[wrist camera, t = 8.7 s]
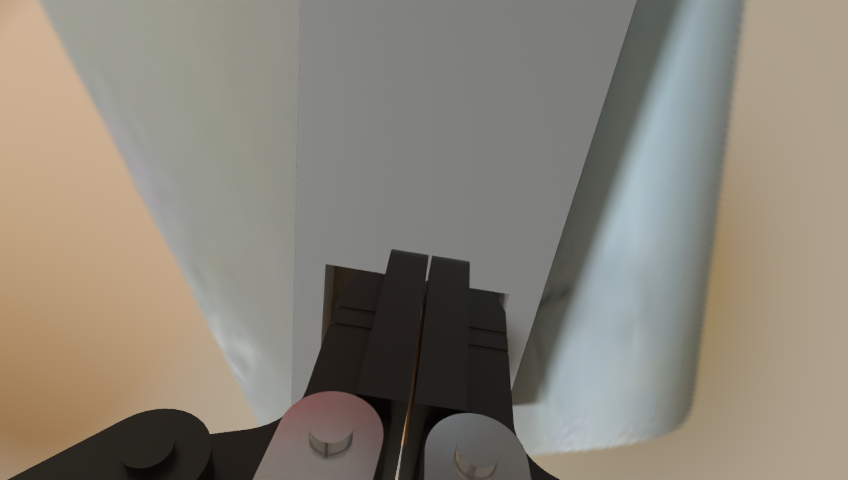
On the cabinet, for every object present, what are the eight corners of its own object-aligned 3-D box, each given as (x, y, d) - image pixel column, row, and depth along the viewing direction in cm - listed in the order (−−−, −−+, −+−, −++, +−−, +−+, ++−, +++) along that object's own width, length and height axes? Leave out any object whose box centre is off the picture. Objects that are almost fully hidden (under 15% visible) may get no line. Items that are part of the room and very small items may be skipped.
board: (319, -61, 21) (301, -59, 19) (621, -11, 21) (637, -3, 19) (303, 377, 33) (291, 408, 31) (493, 408, 33) (495, 441, 31)
